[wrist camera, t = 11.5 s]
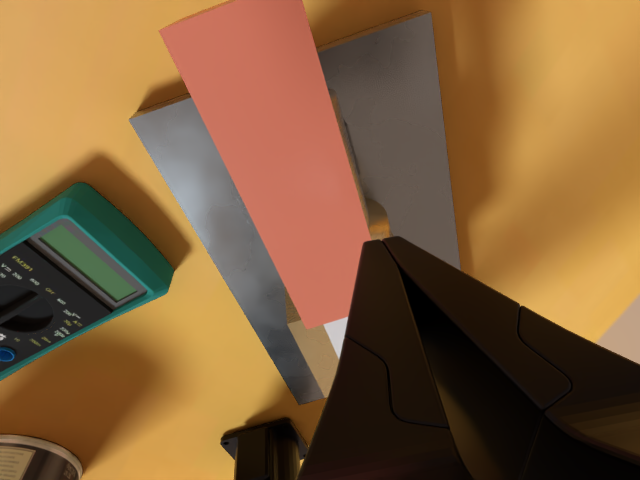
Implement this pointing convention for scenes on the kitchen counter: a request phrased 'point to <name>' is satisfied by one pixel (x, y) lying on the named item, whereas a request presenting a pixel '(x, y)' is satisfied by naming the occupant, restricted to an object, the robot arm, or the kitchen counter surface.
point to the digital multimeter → (71, 274)
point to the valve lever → (279, 145)
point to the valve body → (367, 169)
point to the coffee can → (36, 460)
